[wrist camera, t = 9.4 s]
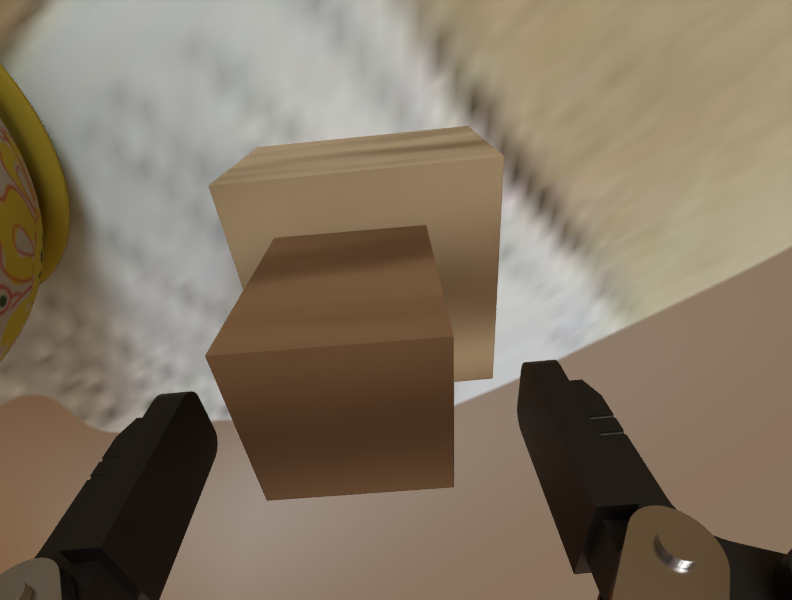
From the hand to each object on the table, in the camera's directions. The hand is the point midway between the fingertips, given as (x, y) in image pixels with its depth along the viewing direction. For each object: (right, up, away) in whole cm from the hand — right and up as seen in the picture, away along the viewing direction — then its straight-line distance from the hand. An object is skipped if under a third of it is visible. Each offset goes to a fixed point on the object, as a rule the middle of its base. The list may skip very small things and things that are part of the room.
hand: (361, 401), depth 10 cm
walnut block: (0, +3, +4) cm, 5 cm away
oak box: (0, +6, +10) cm, 11 cm away
